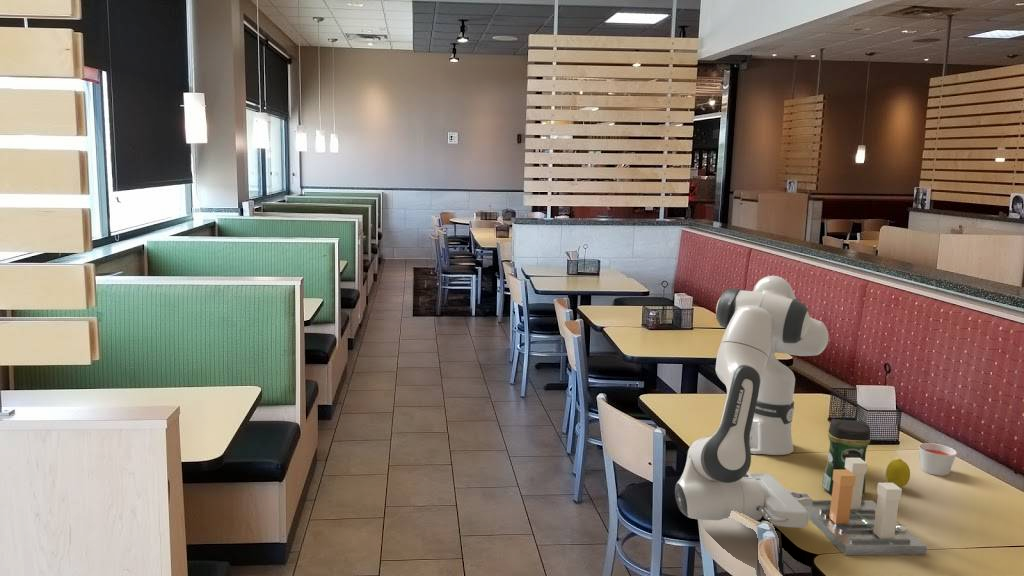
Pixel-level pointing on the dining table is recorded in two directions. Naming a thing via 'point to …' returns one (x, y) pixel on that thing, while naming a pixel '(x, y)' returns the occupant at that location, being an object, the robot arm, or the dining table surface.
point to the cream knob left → (858, 470)
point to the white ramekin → (936, 458)
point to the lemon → (898, 473)
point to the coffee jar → (845, 447)
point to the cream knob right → (886, 510)
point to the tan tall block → (841, 495)
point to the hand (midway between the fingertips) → (809, 499)
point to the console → (863, 532)
